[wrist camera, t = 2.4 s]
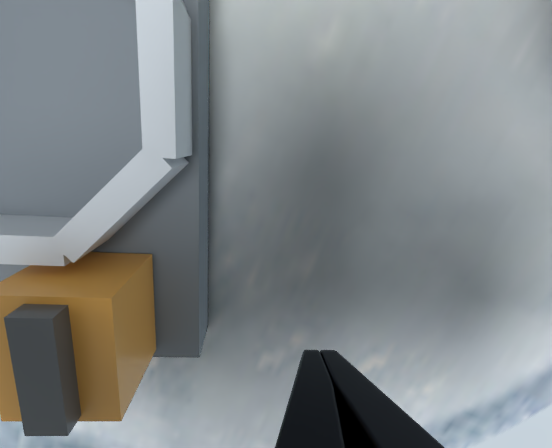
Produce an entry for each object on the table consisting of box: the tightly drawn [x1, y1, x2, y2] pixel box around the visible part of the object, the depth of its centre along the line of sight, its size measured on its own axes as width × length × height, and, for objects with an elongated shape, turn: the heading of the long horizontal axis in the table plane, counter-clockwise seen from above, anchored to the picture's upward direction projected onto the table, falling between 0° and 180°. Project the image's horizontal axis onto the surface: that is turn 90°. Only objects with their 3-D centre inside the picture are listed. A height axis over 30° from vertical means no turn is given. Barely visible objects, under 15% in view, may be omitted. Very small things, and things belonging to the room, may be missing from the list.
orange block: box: [0, 252, 156, 436], centre depth 9 cm, size 3×4×4 cm
